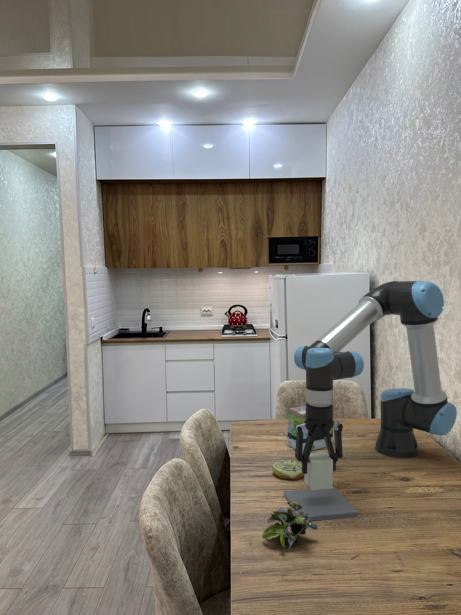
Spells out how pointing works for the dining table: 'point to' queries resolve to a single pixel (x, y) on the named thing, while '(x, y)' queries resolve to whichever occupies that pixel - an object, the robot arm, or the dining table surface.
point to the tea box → (299, 417)
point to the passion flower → (288, 524)
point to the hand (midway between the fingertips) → (318, 483)
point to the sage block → (321, 471)
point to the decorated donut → (288, 469)
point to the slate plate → (321, 503)
